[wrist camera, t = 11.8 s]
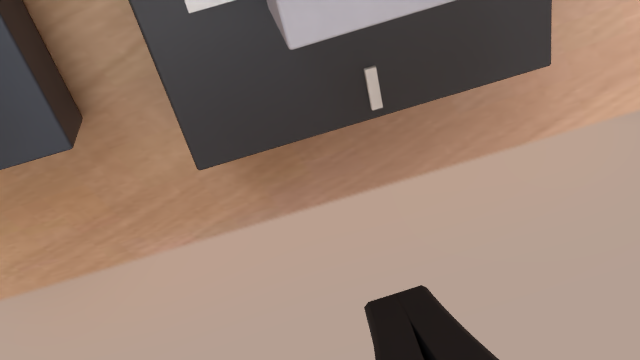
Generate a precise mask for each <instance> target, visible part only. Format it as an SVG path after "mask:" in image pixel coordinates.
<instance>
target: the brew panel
mask: <svg viewBox="0 0 640 360" xmlns="http://www.w3.org/2000/svg"><path fill="white" fill-rule="evenodd" d="M129 3H130V5H131V8H132V10H133V12H134V15H135V17H136V20H137V22H138V25H139V27H140V30H141V32H142V35H143V37H144V39H145V42H146V44H147V47H148V49H149V52H150V54H151V57H152V59H153V62H154V64H155V66H156V69H157V71H158V74H159V76H160V79H161V81H162V84H163V86H164V89H165V91H166V94H167V96H168V98H169V101H170V103H171V106H172V108H173V111H174V113H175V116H176V118H177V121H178V123H179V125H180V128H181V130H182V133H183V135H184V138H185V140H186V143H187V145H188V148H189V150H190V152H191V155H192V157H193V160H194V162H195V165H196V167H197V169H198V170H203V169H206V168H209V167H213V166H216V165H219V164H223V163H226V162H229V161H233V160H236V159H239V158H243V157H246V156H249V155H253V154H256V153H259V152H263V151H266V150H269V149H273V148H276V147H279V146H283V145H286V144H289V143H293V142H296V141H299V140H303V139H306V138H309V137H313V136H316V135H319V134H323V133H326V132H329V131H333V130H336V129H339V128H343V127H346V126H349V125H353V124H356V123H359V122H363V121H366V120H369V119H373V118H376V117H379V116H383V115H386V114H389V113H393V112H396V111H400V110H403V109H406V108H410V107H413V106H416V105H420V104H423V103H426V102H430V101H433V100H436V99H440V98H443V97H446V96H450V95H453V94H456V93H460V92H463V91H466V90H470V89H473V88H476V87H480V86H483V85H486V84H490V83H493V82H496V81H500V80H503V79H506V78H510V77H513V76H516V75H520V74H523V73H526V72H530V71H533V70H536V69H540V68H543V67H546V66H549V65H550V64H551V9H552V0H455V1H452V2H448V3H445V4H442V5H439V6H435V7H432V8H429V9H425V10H422V11H419V12H415V13H412V14H409V15H406V16H402V17H399V18H396V19H392V20H389V21H386V22H382V23H379V24H376V25H372V26H369V27H366V28H363V29H359V30H356V31H353V32H349V33H346V34H343V35H339V36H336V37H333V38H330V39H326V40H323V41H320V42H316V43H313V44H310V45H306V46H303V47H300V48H296V49H293V50H291V49H289V48H288V46H287V44H286V42H285V40H284V38H283V36H282V34H281V32H280V30H279V28H278V26H277V24H276V22H275V20H274V18H273V16H272V14H271V12H270V10H269V7H268V4H267V0H129Z"/></svg>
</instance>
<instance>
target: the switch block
mask: <svg viewBox="0 0 640 360" xmlns="http://www.w3.org/2000/svg"><path fill="white" fill-rule="evenodd" d="M81 122H82V117H81V115H80V113H79V111H78V109H77V107H76V105H75V103H74V101H73V99H72V97H71V95H70V93H69V91H68V89H67V87H66V86H65V84H64V82H63V80H62V78H61V76H60V74H59V72H58V70H57V68H56V66H55V64H54V62H53V60H52V58H51V56H50V54H49V52H48V50H47V49H46V47H45V45H44V43H43V41H42V39H41V37H40V35H39V33H38V31H37V29H36V27H35V25H34V23H33V21H32V19H31V17H30V15H29V13H28V11H27V10H26V8H25V6H24V4H23V2H22V0H0V170H2V169H5V168H8V167H12V166H15V165H19V164H22V163H25V162H29V161H32V160H36V159H39V158H42V157H46V156H49V155H53V154H56V153H59V152H63V151H66V150H70V149H72V148H73V146H74V143H75V140H76V137H77V134H78V131H79V128H80V125H81Z"/></svg>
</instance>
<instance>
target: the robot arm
mask: <svg viewBox="0 0 640 360" xmlns="http://www.w3.org/2000/svg"><path fill="white" fill-rule="evenodd" d="M364 308H365V312H366V316H367V320H368V324H369V328H370V332H371V336H372V340H373V344H374V351H375V359H376V360H499V359H498V358H496V357H495V356H494V355H493V354H492V353H491V352H490V351H488V349H486V348H485V347H484V346H483V345H482V344H481V343H480V342H479V341H478V340H476V339H475V338H474V337H473V336H472V335H471V334H470V333H469V332H468V331H467V330H466V329H464V327H462V325H461V324H460V323H459V322H458V321H457V320H456V319H454V317H453V316H452V315H451V314H450V313H449V312H448V311H447V310H446V309H445V308H444V307H443V306H442V305H441V304H440V303H439V301H438V300H437V299H436V298H435V297H434V296H433V295H432V294H431V292H430V291H429V290H428V289H427V288H426V287H424V286H422V285H421V286H418V287H415V288H411V289H409V290H405V291H402V292H399V293H396V294H393V295H389V296H386V297H383V298H380V299H377V300H374V301H371V302H368V303H367V305H366V306H365V307H364Z"/></svg>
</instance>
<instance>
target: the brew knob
mask: <svg viewBox="0 0 640 360" xmlns="http://www.w3.org/2000/svg"><path fill="white" fill-rule="evenodd" d="M452 1H455V0H267V4H268V7H269V10H270V12H271V14H272V16H273V18H274V20H275V22H276V24H277V26H278V28H279V30H280V32H281V34H282V36H283V38H284V40H285V42H286V44H287V46H288V48H289V49H291V50H293V49H296V48H300V47H303V46H306V45H310V44H313V43H316V42H320V41H323V40H326V39H330V38H333V37H336V36H339V35H343V34H346V33H349V32H353V31H356V30H359V29H363V28H366V27H369V26H372V25H376V24H379V23H382V22H386V21H389V20H392V19H396V18H399V17H402V16H406V15H409V14H412V13H415V12H419V11H422V10H425V9H429V8H432V7H435V6H439V5H442V4H445V3H448V2H452Z"/></svg>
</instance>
